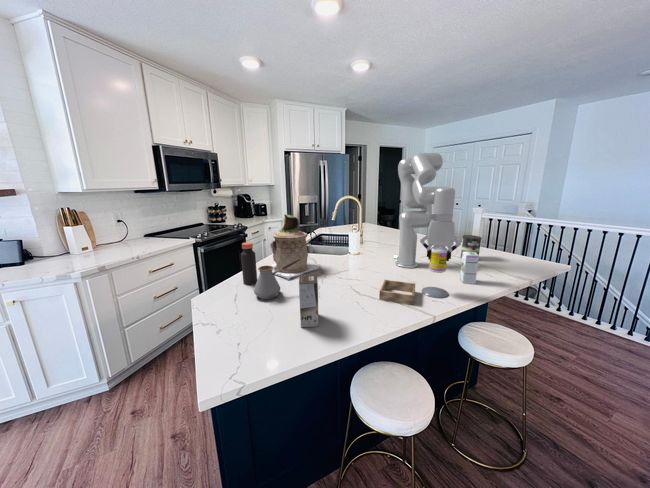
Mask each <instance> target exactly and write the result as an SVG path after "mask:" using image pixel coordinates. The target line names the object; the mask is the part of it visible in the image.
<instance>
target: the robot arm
mask: <svg viewBox="0 0 650 488" xmlns="http://www.w3.org/2000/svg"><path fill="white" fill-rule="evenodd" d="M443 160H444V159H443V157H442V155H441V154H440V153H438V152H419V153H417V154H414V156H412V157H407V158H406V157H405V158H403V159H401V160H400V161H399V163H398V165H397V173H398V178H399V181H400V186H401V189H400V190H401V193H400V194H401V205H402V207H403V208H404V209H407V210H404V211H403V212H401V213H400V214H399V218H398V221H399V244H398V246H399V247H398V255H397V254H394V255H393V260H396V261H395V266H398V267H400V268H403V269H414V268H417V267H418V266H419V263H418V262H417V261H416V257H417V243H418V234H417V233H416V231H415V230H414V229H423V228H424V229H426V228H428V230H427V235H425V236H424V237H423V238H421V239H420V240H419V242H420V244H421V245H422V246H423V247H424V248H425V249H426V257H427V258H428V259H427V260H429V261H430V254H431V248H432V247H433V246H434V245H435V246H445V247H446V248H447V250H448V253H447V262H449V261H450V260H452V253H453V252H454V251H455V250H456V249H457V248H459V247H460V246H462V241H460V240H458V239H457V238H456V236H455V229H456V228H455V222H454V221H453V217H454V208H455V200H456V199H455V198H456V190H455V188H454V187H447V186H425V185H427V184H429V183H431V182H432V181H434V180H435V179H436V176H437V171H439V170H441V168H442V166H443V163H444V161H443ZM413 175H415V176H416V177H414V176H413ZM432 207H433V208H432ZM410 209H411V210H410ZM412 209H414V210H412ZM415 209H416V210H415ZM418 209H420V210H418ZM425 241H426V242H425ZM454 243H455V244H454Z"/></svg>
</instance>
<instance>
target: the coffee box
mask: <svg viewBox="0 0 650 488" xmlns="http://www.w3.org/2000/svg"><path fill="white" fill-rule="evenodd" d="M298 286H299V287H298V288H299V291H298V292H299V294H298V295H299V313H300V316H299V317H300V328H310V327H311V328H312V327H313V328H314V327H318V326H319V283H318V276H317V274H316V273H312V274H311V273H310V274H309V273H305V274H301V275H299V278H298Z"/></svg>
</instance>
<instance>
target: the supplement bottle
mask: <svg viewBox="0 0 650 488" xmlns="http://www.w3.org/2000/svg"><path fill="white" fill-rule="evenodd" d="M430 249H431V254H430V260H429V264H428V265H429V266H428V270H429V271H430V272H433V273H436V274H438V273H439V274H443V273H445V272H446V270H447V269H446V268H447V262H448V261H447V253H448V248H447V247H446V246H435V245H433V246H432V247H431V248H430Z"/></svg>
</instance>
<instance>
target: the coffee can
mask: <svg viewBox="0 0 650 488" xmlns="http://www.w3.org/2000/svg"><path fill="white" fill-rule="evenodd" d="M481 243H482V236H478V235H473V234H472V235H471V234H466V235H465V234H464V235H462V240H461V248H460V256H459V258H460V259H461V260H462V254H463V252H475V253H476V254H478V255H479V256H480V249H481Z"/></svg>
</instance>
